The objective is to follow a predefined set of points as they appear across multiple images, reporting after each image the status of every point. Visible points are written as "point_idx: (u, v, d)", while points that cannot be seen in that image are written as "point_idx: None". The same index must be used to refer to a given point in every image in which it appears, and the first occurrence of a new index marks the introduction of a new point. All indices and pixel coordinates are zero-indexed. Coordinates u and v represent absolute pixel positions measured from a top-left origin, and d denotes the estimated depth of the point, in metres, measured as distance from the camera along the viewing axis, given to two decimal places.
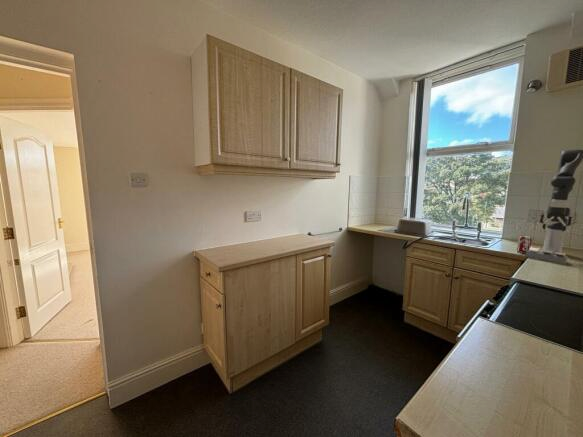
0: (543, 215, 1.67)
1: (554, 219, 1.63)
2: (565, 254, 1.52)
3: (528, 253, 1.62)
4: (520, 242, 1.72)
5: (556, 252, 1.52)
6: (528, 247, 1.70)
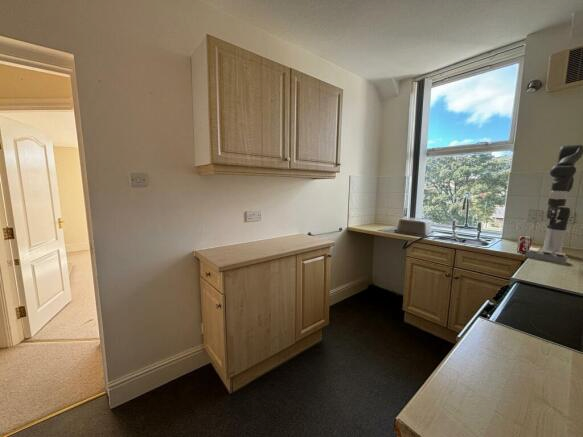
0: None
1: None
2: (565, 254, 1.52)
3: (528, 253, 1.62)
4: (520, 242, 1.72)
5: (556, 252, 1.52)
6: (528, 247, 1.70)
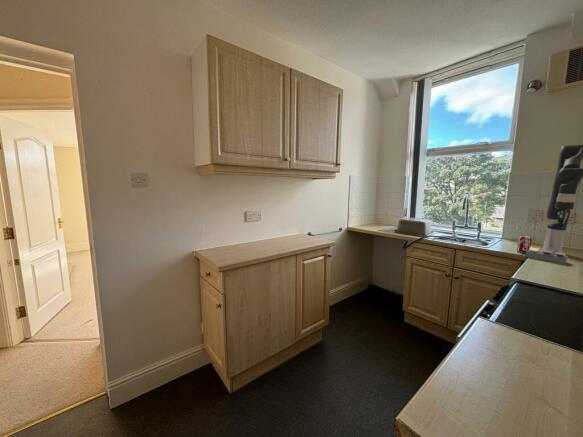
0: (564, 215, 1.46)
1: None
2: (565, 254, 1.52)
3: (528, 253, 1.62)
4: (520, 242, 1.72)
5: (556, 252, 1.52)
6: (528, 247, 1.70)
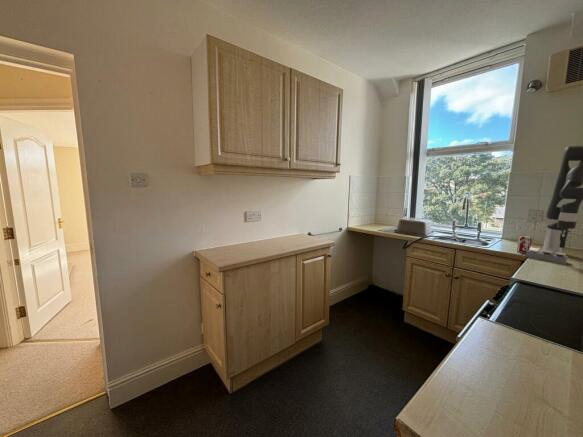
0: None
1: None
2: (565, 254, 1.52)
3: (528, 253, 1.62)
4: (520, 242, 1.72)
5: (556, 252, 1.52)
6: (528, 247, 1.70)
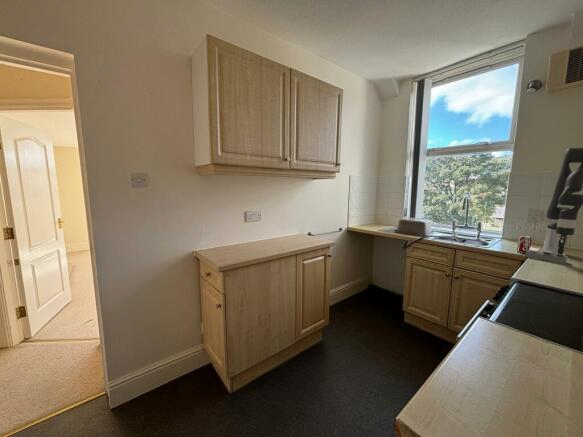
0: (564, 241, 1.46)
1: None
2: (565, 254, 1.52)
3: (528, 253, 1.62)
4: (520, 242, 1.72)
5: (556, 252, 1.52)
6: (528, 247, 1.70)
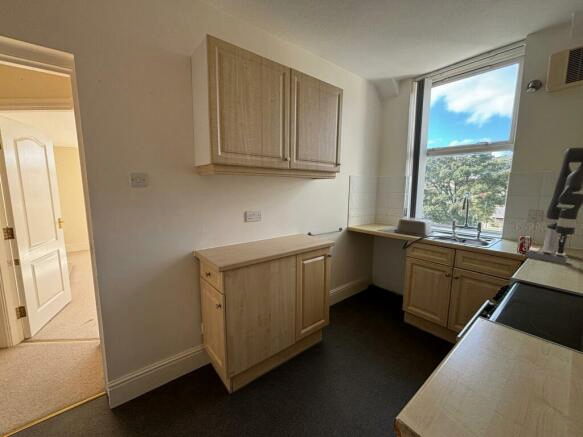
0: (564, 240, 1.46)
1: None
2: (565, 254, 1.52)
3: (528, 253, 1.62)
4: (520, 242, 1.72)
5: (556, 253, 1.52)
6: (528, 247, 1.70)
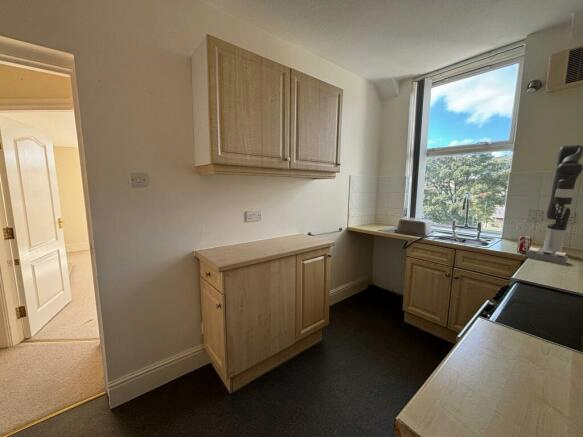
0: (562, 210, 1.48)
1: None
2: (565, 253, 1.52)
3: (528, 253, 1.62)
4: (520, 242, 1.72)
5: (556, 253, 1.52)
6: (528, 247, 1.70)
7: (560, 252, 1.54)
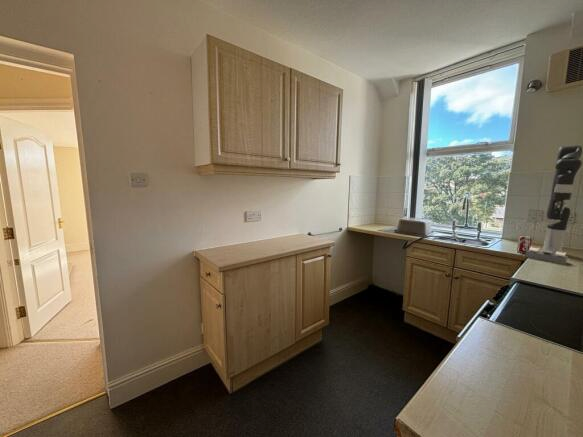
0: (561, 205, 1.49)
1: None
2: (565, 253, 1.52)
3: (528, 253, 1.62)
4: (520, 242, 1.72)
5: (556, 254, 1.52)
6: (528, 247, 1.70)
7: (560, 252, 1.54)
